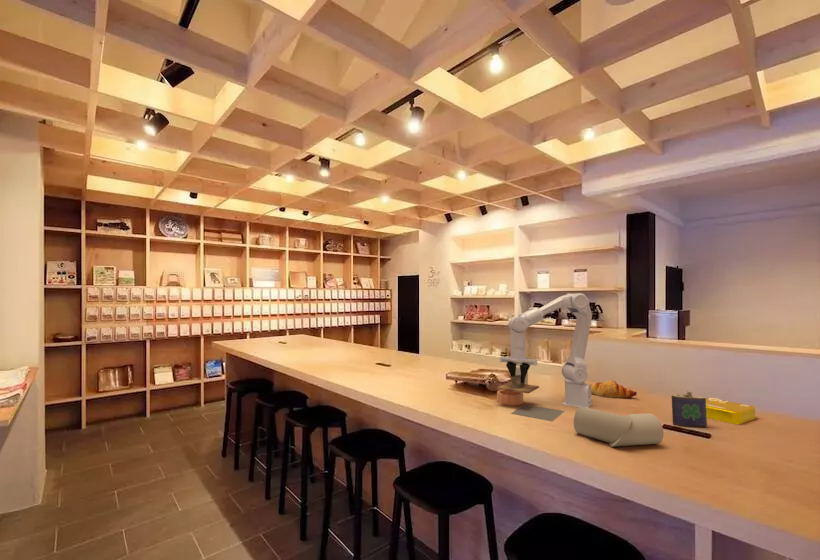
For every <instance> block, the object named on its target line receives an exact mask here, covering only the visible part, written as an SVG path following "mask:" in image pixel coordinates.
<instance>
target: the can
mask: <svg viewBox="0 0 820 560" xmlns="http://www.w3.org/2000/svg"><path fill="white" fill-rule="evenodd" d="M520 365H522V364H518V363H517V364H516V375H521V371H520ZM528 371H529V370H528ZM528 371H527V374H526V377H525V384H528V385H529V378H528V377H529V373H528Z"/></svg>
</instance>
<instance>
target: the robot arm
mask: <svg viewBox="0 0 820 560" xmlns="http://www.w3.org/2000/svg"><path fill="white" fill-rule="evenodd" d="M590 301H591V300H590V299H589V298H588V297H587V296H586V294H585V293H582V292H581V293H580V292H578V293H569V292H568V293H566V294H564V295H560V296H559V297H556V298H555V299H553V300H552V301H550V302H548V303H546V304H545V305H542V306H541V307H539V308H538V307H531V306H530V307H529V308H528V309H527V310H526V311H524V312H523V313H518V314H517V315H518V316H513V317H511V318H510V319H509V320H508V323H507V327H508V328H509V331H510V333H509V334H510V336H509V338H510V339H509V340H510V343H509V346H510V348H509V349H510V356H500V357H499V363H506V364H505V365H506V366H505V367H506V368H507V370H508V371H509V375H510V378H512V377H513V376H516V364H517V363H518V364H522V365H520V371H521V383H524V382H525V377H526V374H527V371H529V369H530V368H531V365H532V366H534V367H535V366H538V360H537V359H532V358H526V330H527V329H528V328H529V327H531V326H533V325H535V324H537V323H539V322H541V321H543V318H544V316H545V315H548V314H549V313H553V312H554V311H557V310H559V309H560V308H565V309H567V310H569V311H570V312H571V313H573V315H574V316H575V318H576V321H575V326H574V331H573V336H572V341H571V345H570V346H571V347H570V352H569V356H568V357H567V358H566V360H565V363H564V365H563V366H562V367H561V374H562V376H563V377H564V402H562V403H561V405H564V406H568V407H576V408H579V407H586V408H591V406H592V405H593V403H592V401H593V399H592V394H591V385H590V383H587V382H586V380H587V379H588V371H587V367H588V365H587V363H586V360H585V355H586V351H587V346H588V340H589V336H590V335H589V334H590V329H591V325H592V320H593V319H592V318H593V314H592V313H593V312H592V310H591V307H590Z"/></svg>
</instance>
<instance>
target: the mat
mask: <svg viewBox="0 0 820 560" xmlns="http://www.w3.org/2000/svg"><path fill="white" fill-rule="evenodd" d="M564 412H565V410H561V409H554V408H549V407H542V406H537V405H531V404H523V405H522V406H520V407H519V408H517V409H516V410H514V411H512V412H510V414H511V415H516V416H521V417H526V418H533V419H537V420H542V421H547V422H554V421H555V420H556V419H557V418H559V417H560V416H561V415H562V414H564Z"/></svg>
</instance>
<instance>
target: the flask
mask: <svg viewBox="0 0 820 560" xmlns="http://www.w3.org/2000/svg"><path fill="white" fill-rule="evenodd" d="M706 398H707V397H706V396H700V395H698V396H697V395H696V396H695V395H693V392H692V391H691V390H686V393H684V394H683V393H681V394H679V393H676V394H673V395H671V409H672V411H671V413H672V415H671V416H672V425H673V426H676V427H683V428H684V427H685V428H703V429H704V428H708V427H707V426H708V421H707V419H708V418H707V415H706Z"/></svg>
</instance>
